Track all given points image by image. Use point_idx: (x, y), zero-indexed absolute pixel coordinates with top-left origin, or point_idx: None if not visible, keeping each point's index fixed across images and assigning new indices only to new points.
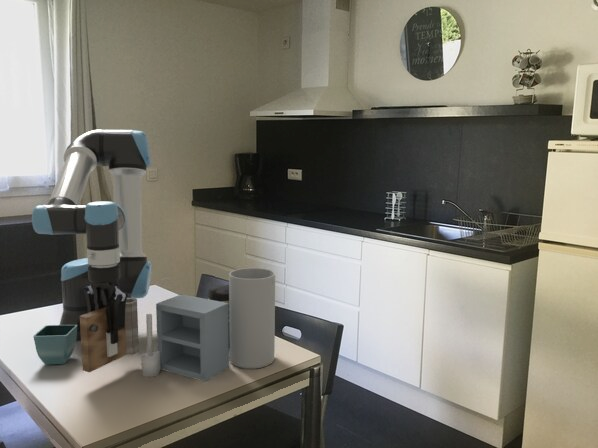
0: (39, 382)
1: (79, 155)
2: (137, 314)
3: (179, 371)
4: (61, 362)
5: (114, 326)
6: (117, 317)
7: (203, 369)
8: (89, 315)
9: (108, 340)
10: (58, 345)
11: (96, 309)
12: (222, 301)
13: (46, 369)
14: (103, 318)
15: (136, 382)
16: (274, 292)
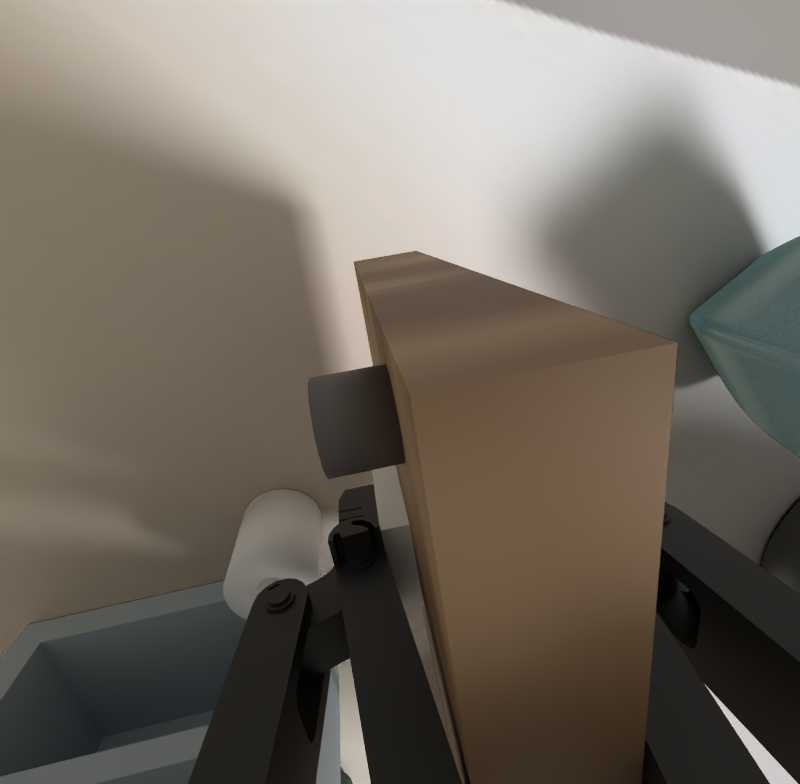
0: (630, 116)
1: None
2: None
3: (174, 601)
4: (700, 307)
5: (287, 620)
6: (195, 780)
7: (1, 673)
8: (498, 518)
9: (374, 483)
10: (790, 309)
11: (688, 718)
12: None
13: (719, 231)
14: (437, 638)
15: (243, 436)
16: None
